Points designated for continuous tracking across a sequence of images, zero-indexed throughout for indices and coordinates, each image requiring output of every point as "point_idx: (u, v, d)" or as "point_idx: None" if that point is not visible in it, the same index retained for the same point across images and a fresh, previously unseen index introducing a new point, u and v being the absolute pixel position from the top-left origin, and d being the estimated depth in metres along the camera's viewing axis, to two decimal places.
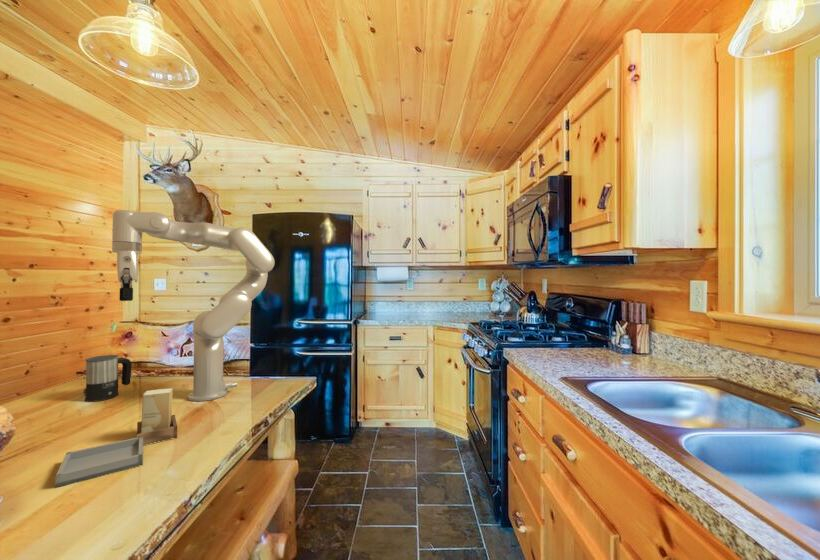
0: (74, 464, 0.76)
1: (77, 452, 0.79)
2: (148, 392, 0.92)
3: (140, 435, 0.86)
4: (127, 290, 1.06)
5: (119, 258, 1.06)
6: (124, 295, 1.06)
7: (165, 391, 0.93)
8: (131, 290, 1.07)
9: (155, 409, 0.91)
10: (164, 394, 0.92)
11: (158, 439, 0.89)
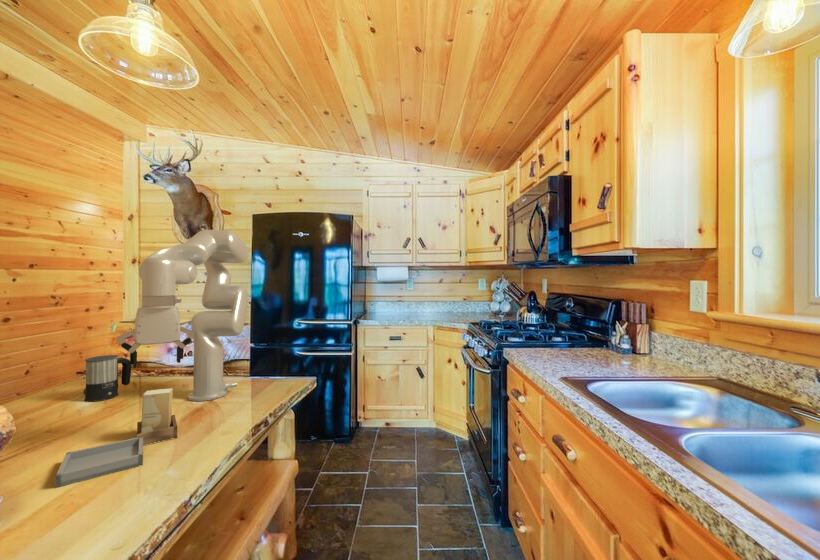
0: (74, 464, 0.76)
1: (77, 452, 0.79)
2: (148, 392, 0.92)
3: (140, 435, 0.86)
4: None
5: (177, 315, 0.94)
6: None
7: (165, 391, 0.93)
8: None
9: (155, 409, 0.91)
10: (164, 394, 0.92)
11: (158, 439, 0.89)
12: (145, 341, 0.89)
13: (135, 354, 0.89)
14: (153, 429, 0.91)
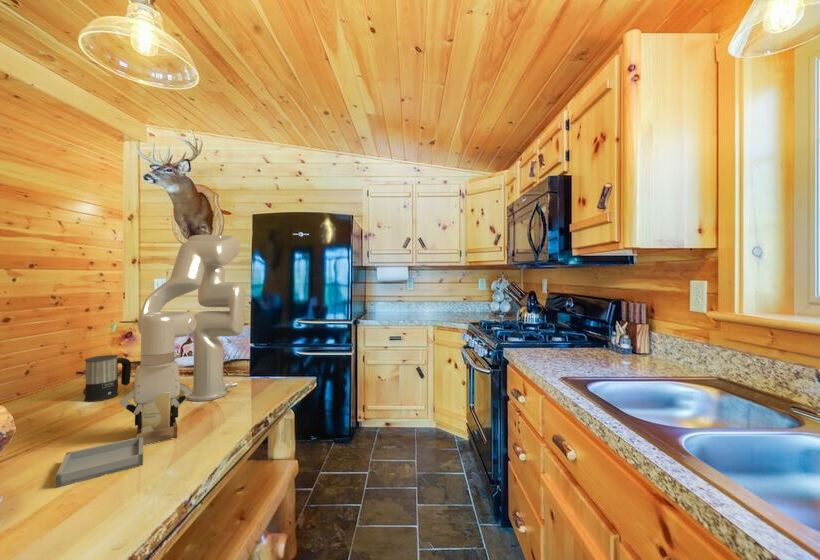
0: (74, 464, 0.76)
1: (77, 452, 0.79)
2: None
3: (140, 435, 0.86)
4: (177, 407, 0.96)
5: (177, 371, 0.94)
6: (177, 414, 0.95)
7: None
8: None
9: (155, 409, 0.91)
10: (164, 394, 0.92)
11: (158, 439, 0.89)
12: (144, 400, 0.89)
13: (140, 416, 0.89)
14: (153, 429, 0.90)
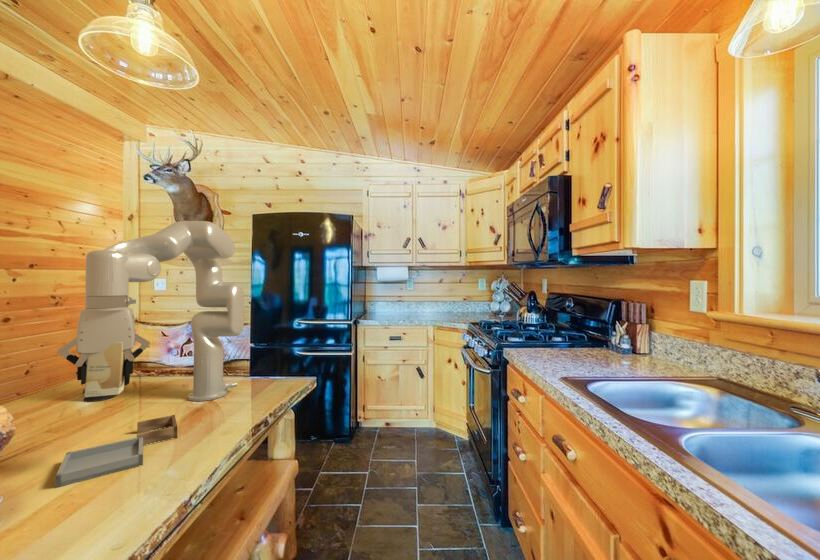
0: (74, 464, 0.76)
1: (77, 452, 0.79)
2: None
3: (140, 435, 0.86)
4: None
5: (131, 318, 0.80)
6: (132, 369, 0.81)
7: None
8: None
9: (103, 361, 0.76)
10: (115, 344, 0.77)
11: (158, 439, 0.89)
12: (89, 350, 0.75)
13: (83, 368, 0.75)
14: (100, 385, 0.76)
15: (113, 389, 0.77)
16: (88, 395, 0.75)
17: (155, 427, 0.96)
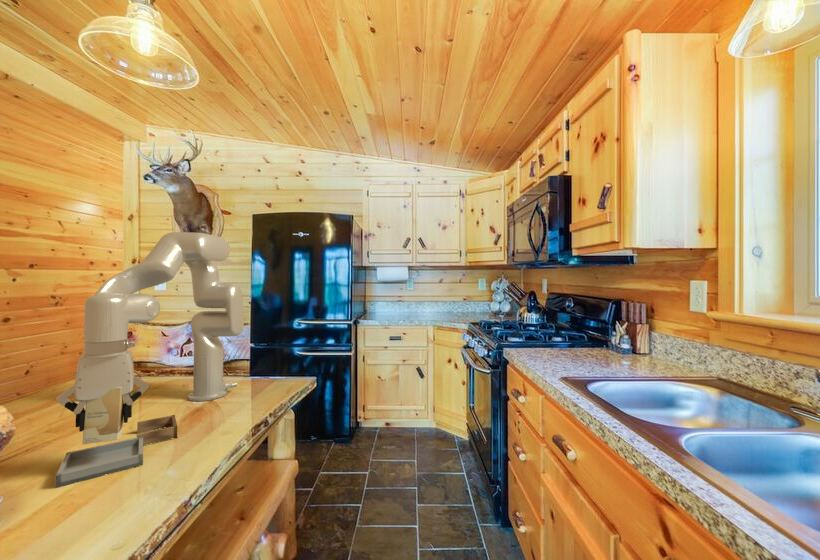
0: (74, 464, 0.76)
1: (77, 452, 0.79)
2: None
3: (140, 435, 0.86)
4: (131, 406, 0.81)
5: (129, 362, 0.79)
6: None
7: None
8: None
9: (102, 407, 0.76)
10: (114, 390, 0.77)
11: (158, 439, 0.89)
12: (88, 397, 0.75)
13: (82, 415, 0.74)
14: (98, 431, 0.76)
15: (111, 434, 0.77)
16: (86, 442, 0.75)
17: (155, 427, 0.96)
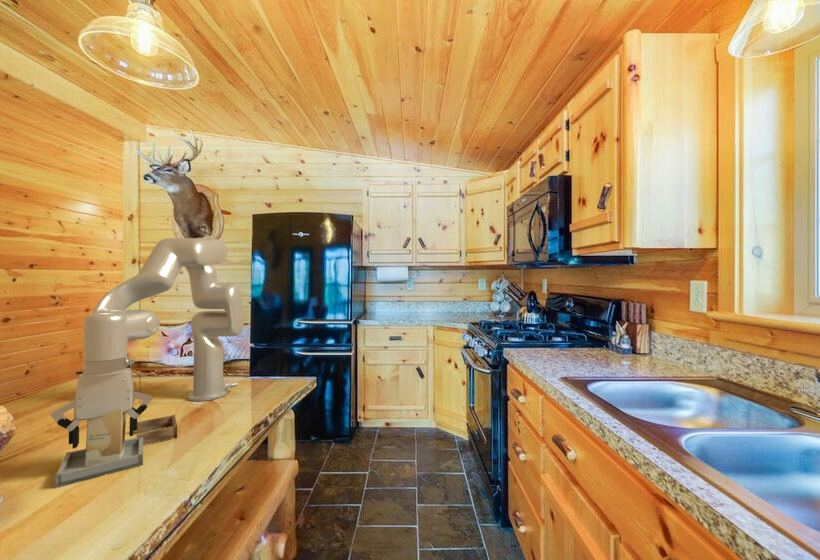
0: (74, 464, 0.76)
1: (77, 452, 0.79)
2: None
3: (140, 435, 0.86)
4: None
5: (129, 380, 0.79)
6: None
7: None
8: None
9: (103, 429, 0.76)
10: (115, 411, 0.77)
11: (158, 439, 0.89)
12: (87, 416, 0.75)
13: (75, 432, 0.74)
14: (101, 453, 0.76)
15: (114, 455, 0.77)
16: (89, 464, 0.75)
17: (155, 427, 0.96)
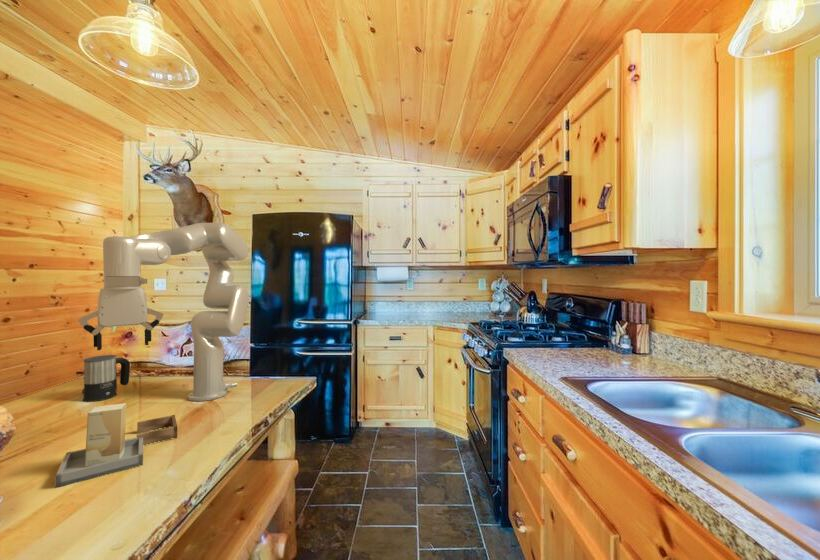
0: (74, 464, 0.76)
1: (77, 452, 0.79)
2: (95, 409, 0.77)
3: (140, 435, 0.86)
4: None
5: (143, 296, 0.91)
6: None
7: (116, 407, 0.78)
8: None
9: (103, 429, 0.76)
10: (115, 411, 0.77)
11: (158, 439, 0.89)
12: (109, 323, 0.86)
13: (99, 336, 0.86)
14: (101, 453, 0.76)
15: (114, 455, 0.77)
16: (89, 464, 0.75)
17: (155, 427, 0.96)
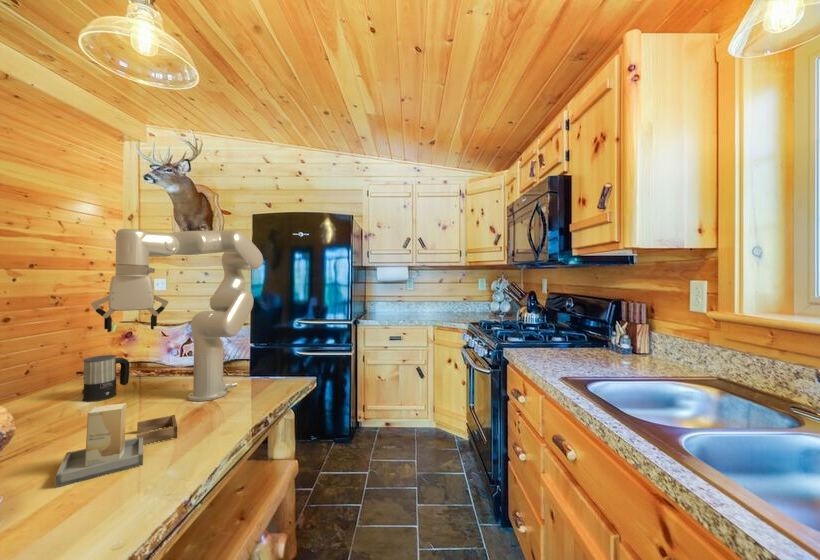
0: (74, 464, 0.76)
1: (77, 452, 0.79)
2: (95, 409, 0.77)
3: (140, 435, 0.86)
4: (156, 317, 1.02)
5: (150, 284, 0.99)
6: (156, 323, 1.01)
7: (116, 407, 0.78)
8: None
9: (103, 429, 0.76)
10: (115, 411, 0.77)
11: (158, 439, 0.89)
12: (119, 307, 0.95)
13: (109, 319, 0.94)
14: (101, 453, 0.76)
15: (114, 455, 0.77)
16: (89, 464, 0.75)
17: (155, 427, 0.96)
